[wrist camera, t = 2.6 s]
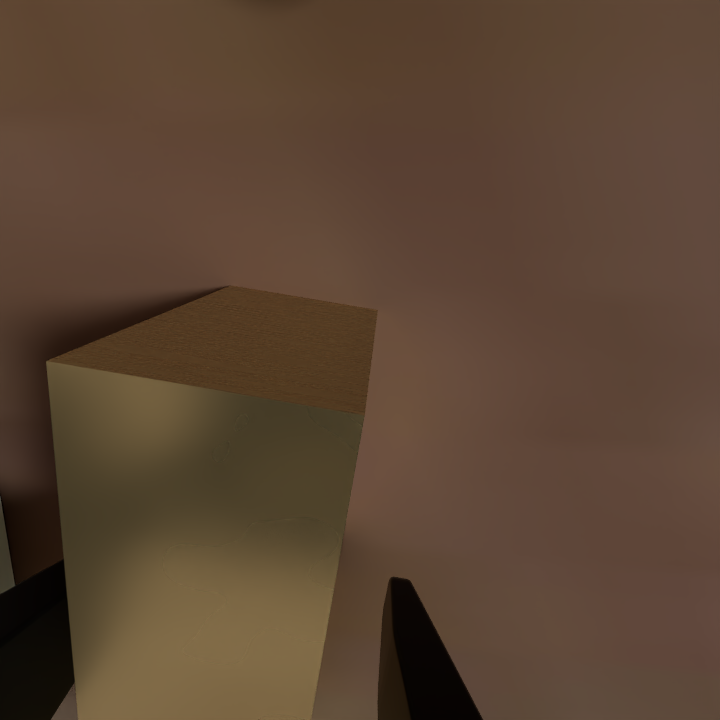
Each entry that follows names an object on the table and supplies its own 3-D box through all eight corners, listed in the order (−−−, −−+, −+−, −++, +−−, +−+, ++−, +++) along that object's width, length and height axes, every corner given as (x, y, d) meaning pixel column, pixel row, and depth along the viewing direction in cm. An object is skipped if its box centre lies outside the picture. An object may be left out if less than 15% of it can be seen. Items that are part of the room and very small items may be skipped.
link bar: (377, 308, 9) (364, 415, 4) (314, 680, 12) (265, 976, 7) (233, 284, 9) (45, 361, 4) (211, 662, 12) (98, 944, 7)
